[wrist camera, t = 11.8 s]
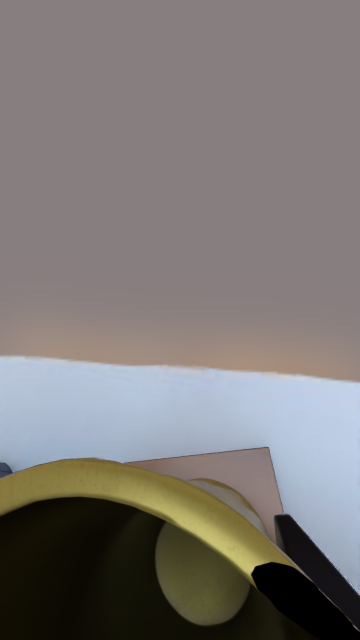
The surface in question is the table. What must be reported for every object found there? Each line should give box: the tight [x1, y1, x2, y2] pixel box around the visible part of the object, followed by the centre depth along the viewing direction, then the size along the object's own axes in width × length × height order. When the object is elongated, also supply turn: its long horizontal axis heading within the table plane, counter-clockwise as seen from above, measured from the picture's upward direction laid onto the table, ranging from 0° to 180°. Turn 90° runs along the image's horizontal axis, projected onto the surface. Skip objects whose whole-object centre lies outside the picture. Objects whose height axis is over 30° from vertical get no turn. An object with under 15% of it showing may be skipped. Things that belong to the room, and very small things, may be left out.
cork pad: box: [124, 447, 284, 546], centre depth 13 cm, size 8×8×1 cm
